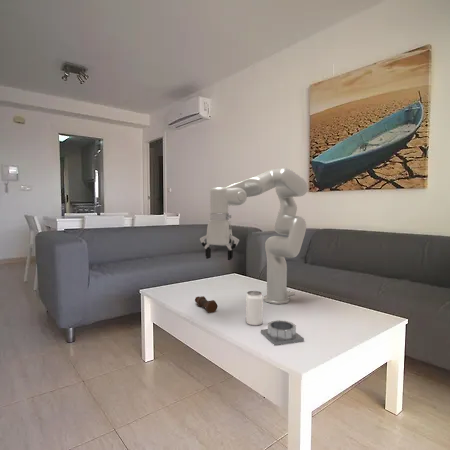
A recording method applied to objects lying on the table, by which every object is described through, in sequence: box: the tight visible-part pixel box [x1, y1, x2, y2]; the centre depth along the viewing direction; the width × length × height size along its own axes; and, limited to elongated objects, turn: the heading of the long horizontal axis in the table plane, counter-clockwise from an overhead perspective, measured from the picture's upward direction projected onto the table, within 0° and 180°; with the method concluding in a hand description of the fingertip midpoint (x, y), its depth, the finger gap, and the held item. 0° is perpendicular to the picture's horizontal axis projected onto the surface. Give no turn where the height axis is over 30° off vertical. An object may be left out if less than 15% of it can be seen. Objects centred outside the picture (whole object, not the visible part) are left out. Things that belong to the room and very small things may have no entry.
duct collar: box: [260, 320, 305, 346], centre depth 106 cm, size 11×11×4 cm
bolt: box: [194, 295, 219, 314], centre depth 138 cm, size 6×5×15 cm
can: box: [245, 290, 264, 327], centre depth 119 cm, size 6×6×12 cm
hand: (219, 258), depth 126 cm, fingers open, 9 cm apart
